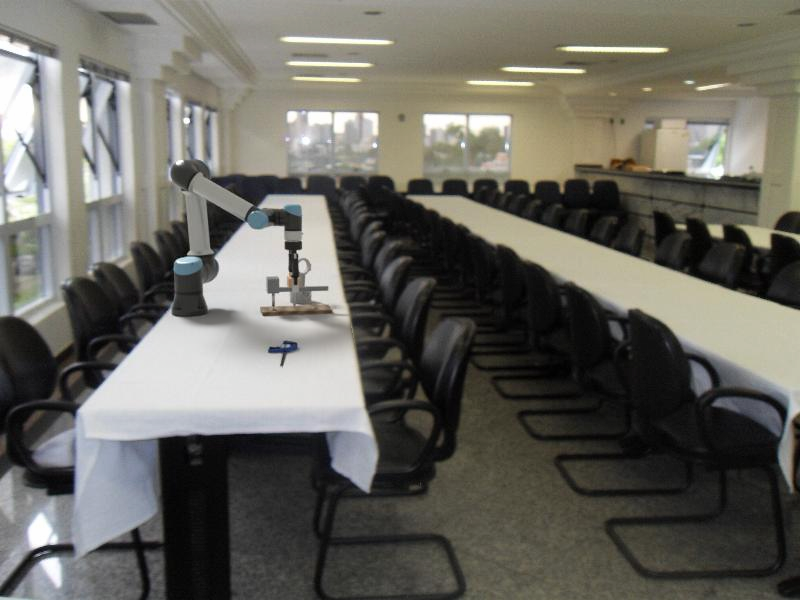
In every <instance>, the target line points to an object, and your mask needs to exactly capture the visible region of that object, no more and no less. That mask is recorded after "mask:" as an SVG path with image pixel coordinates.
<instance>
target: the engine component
mask: <svg viewBox="0 0 800 600" xmlns="http://www.w3.org/2000/svg"><path fill="white" fill-rule="evenodd" d="M302 261H303V262H305V263H306V268H305V270H304V271H302V272H301V271H299V277H300V287H305V286H306V275H307V274H308V273H309V272H310V271H312V263H311V262H310V260H309V259H308V258H305V257H298V265H299V263H301V262H302ZM289 303H290V304H293V293H292V292H289ZM310 303H312V291H299V292H296V305H303V304H304V305H305V304H310Z"/></svg>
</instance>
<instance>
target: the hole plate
mask: <svg viewBox="0 0 800 600" xmlns="http://www.w3.org/2000/svg"><path fill="white" fill-rule="evenodd" d="M260 313H261V316H262V317H263V316H267V315H268V316H289V315H290V316H292V315H294V316H295V315H321V314H322V315H323V314H324V315H326V314H328V315H329V314H333V308H332V307H331V306H330V305H329V304H310V305H307V304H306V305H305V304H304V305H303V304H300V305H295V308H294V305H275V306H274V310H273V306H272V305H271V306H270V305H269V306H260Z"/></svg>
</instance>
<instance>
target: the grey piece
mask: <svg viewBox="0 0 800 600" xmlns="http://www.w3.org/2000/svg"><path fill="white" fill-rule="evenodd" d="M265 279H266V280H265V284H266V285H265V288H266V289H265V290H266V293H267V294H268V295H271V306H273V310H274V306H276V297H275V296H276V294H280V293H290V292H292V288H288V286H280V278H279V277H278V276H277V275H275V276H266V277H265ZM299 291H311V292H324V291H325V292H329V285H316V286H315V285H313V286H307V285H305V287H300V288H299Z"/></svg>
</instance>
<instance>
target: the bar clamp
mask: <svg viewBox="0 0 800 600" xmlns="http://www.w3.org/2000/svg"><path fill="white" fill-rule="evenodd" d="M297 349H298V342H295V341H292V340H283V342H282V343H281V344H280V345H279V346H277V345H276V346H269V347H268V349H267V352H268V353H270V354H275V353H276V354H277V353H282V354H281V359H280V360H281V361H280V364H279V365H280V366H279V368H282V369H283V367H284V364H285V359H286V358H285V357H286V353H291V352H294V351H296V350H297Z"/></svg>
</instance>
